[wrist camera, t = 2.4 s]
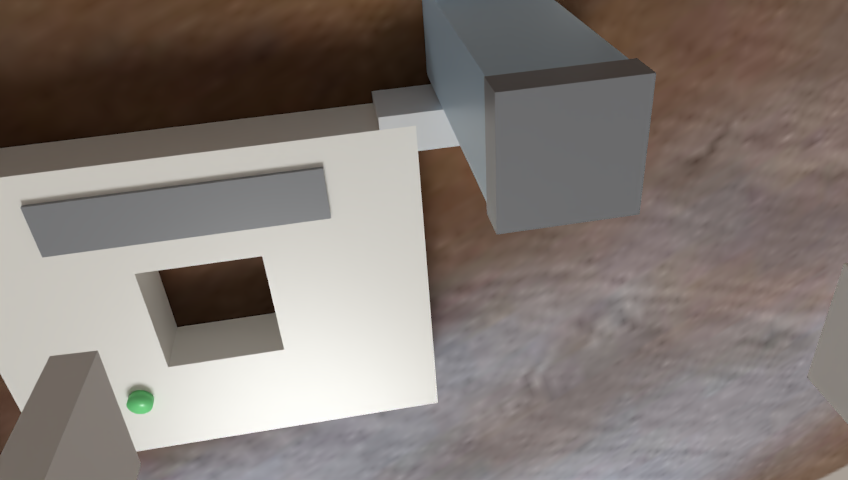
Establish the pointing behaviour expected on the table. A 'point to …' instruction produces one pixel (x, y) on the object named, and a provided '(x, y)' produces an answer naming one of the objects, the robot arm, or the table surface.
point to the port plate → (216, 242)
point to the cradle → (415, 115)
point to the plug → (540, 110)
